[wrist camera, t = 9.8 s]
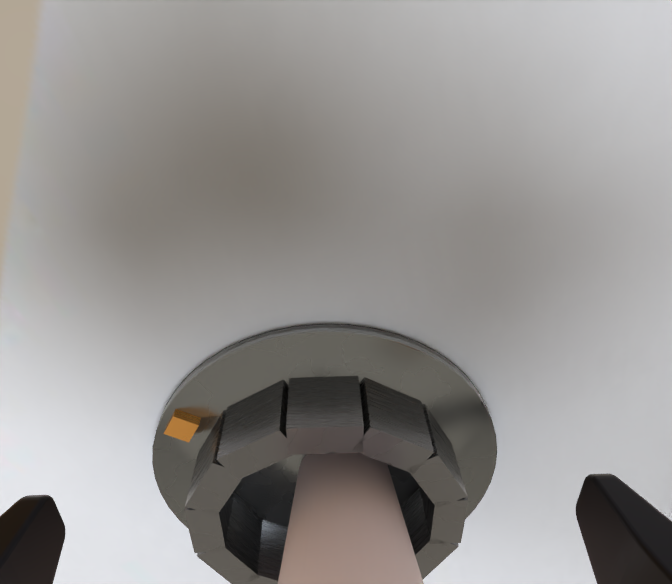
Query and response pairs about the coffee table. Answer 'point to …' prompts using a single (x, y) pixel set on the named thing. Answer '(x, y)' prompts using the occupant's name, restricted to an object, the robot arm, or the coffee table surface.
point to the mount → (319, 440)
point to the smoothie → (347, 525)
